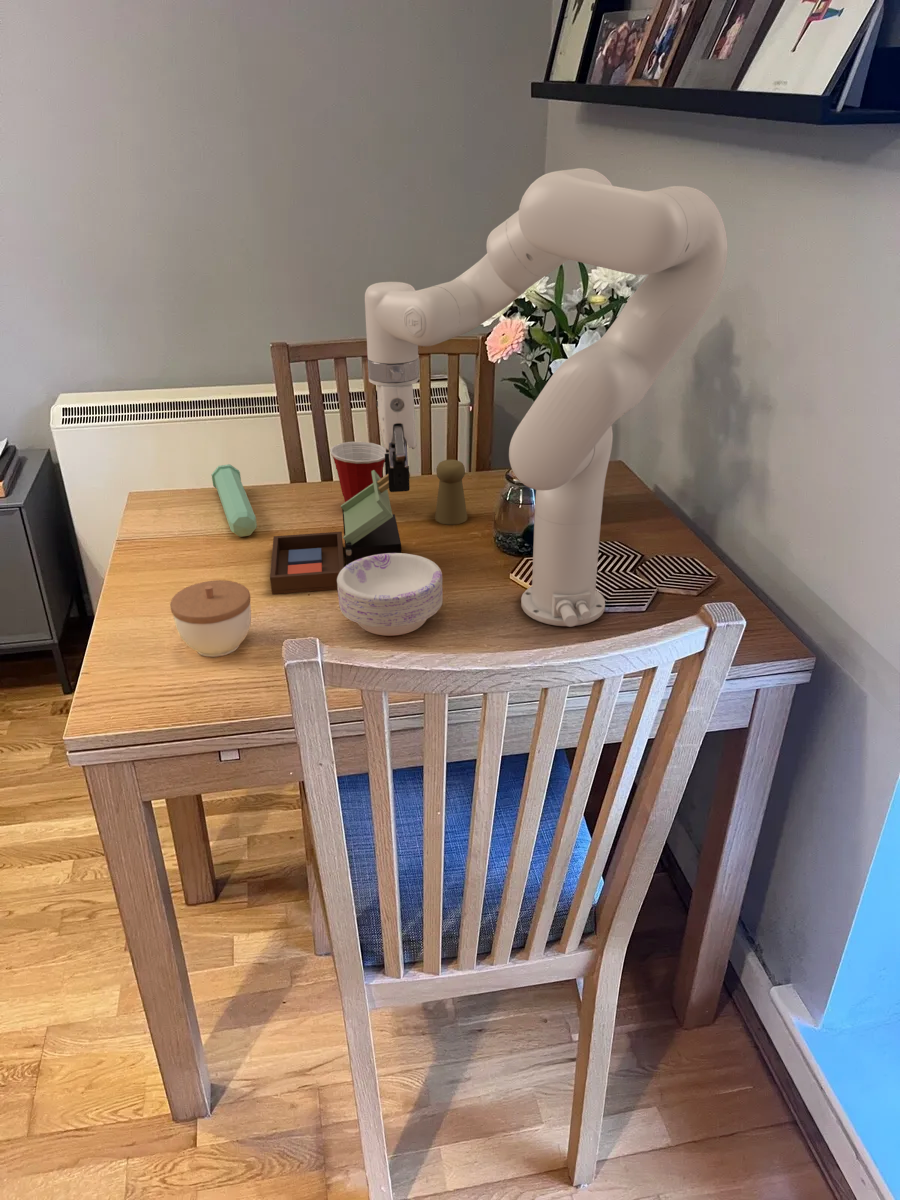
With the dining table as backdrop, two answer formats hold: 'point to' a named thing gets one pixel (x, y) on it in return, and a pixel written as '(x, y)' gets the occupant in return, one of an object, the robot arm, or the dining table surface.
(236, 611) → the trinket box
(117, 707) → the dining table surface
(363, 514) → the green handled tray
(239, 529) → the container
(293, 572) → the coral sachet
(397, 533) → the stand
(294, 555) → the blue sachet
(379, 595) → the paper bowls
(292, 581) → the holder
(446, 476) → the pepper mill
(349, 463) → the plastic cup
